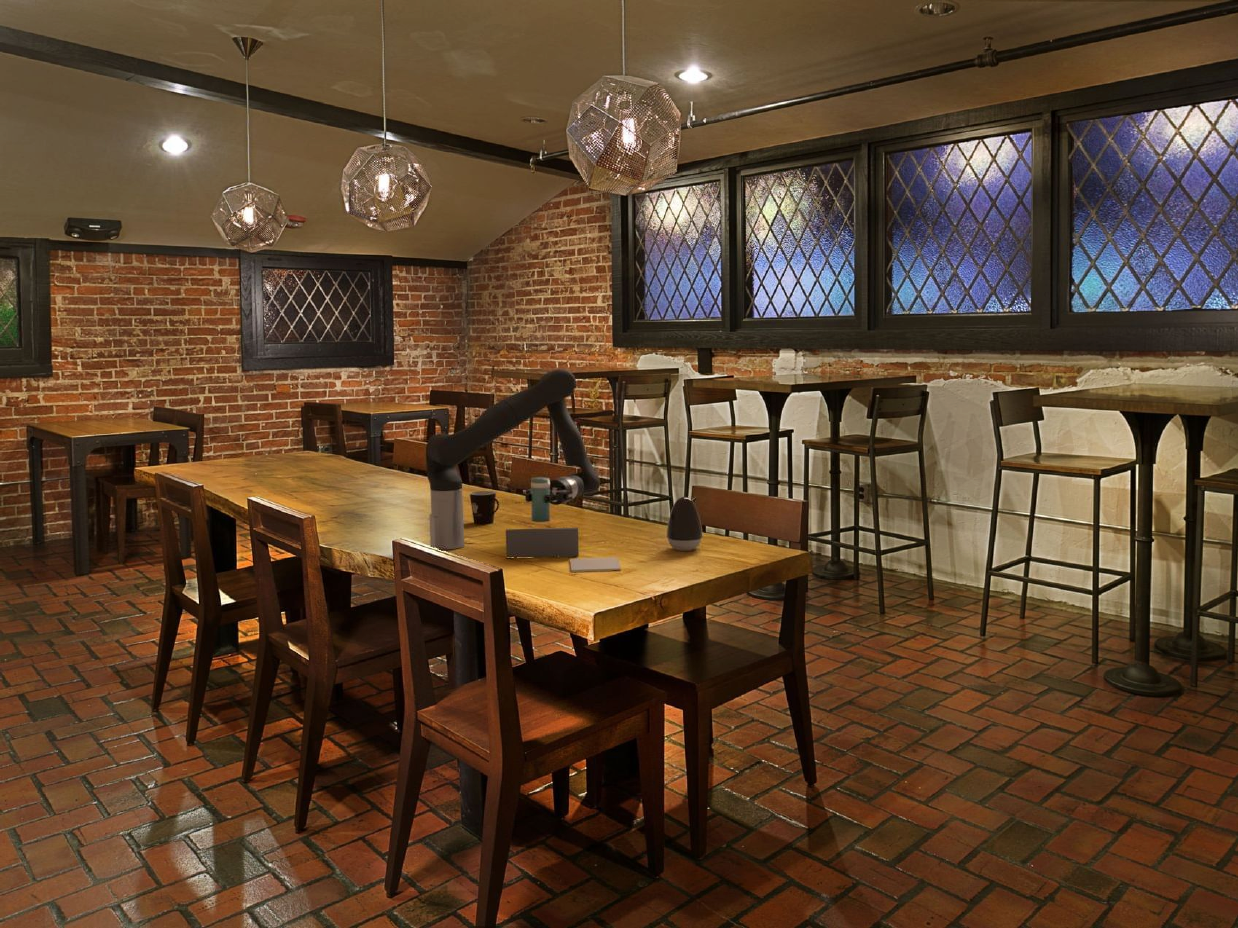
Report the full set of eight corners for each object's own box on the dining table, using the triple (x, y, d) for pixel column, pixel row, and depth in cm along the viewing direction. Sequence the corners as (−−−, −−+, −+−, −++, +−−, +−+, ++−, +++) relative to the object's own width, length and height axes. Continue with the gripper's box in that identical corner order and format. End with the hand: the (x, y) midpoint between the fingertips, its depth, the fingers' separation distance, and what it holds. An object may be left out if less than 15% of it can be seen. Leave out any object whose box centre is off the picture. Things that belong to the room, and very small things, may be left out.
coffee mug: (468, 521, 331) (467, 491, 330) (493, 519, 334) (492, 490, 333) (475, 527, 321) (474, 497, 319) (501, 525, 324) (500, 495, 322)
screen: (506, 558, 275) (505, 530, 274) (506, 557, 277) (505, 529, 276) (578, 556, 277) (578, 528, 276) (578, 555, 278) (577, 527, 277)
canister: (534, 522, 279) (534, 480, 277) (528, 519, 284) (528, 477, 282) (552, 521, 281) (552, 479, 280) (546, 518, 286) (546, 476, 284)
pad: (571, 572, 259) (571, 569, 259) (570, 560, 272) (570, 558, 272) (621, 570, 260) (621, 568, 260) (617, 559, 273) (617, 557, 273)
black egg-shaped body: (710, 548, 285) (709, 496, 283) (687, 554, 278) (687, 501, 276) (682, 543, 292) (681, 492, 290) (659, 549, 284) (659, 497, 282)
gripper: (539, 476, 297) (513, 484, 281) (583, 479, 292) (559, 487, 276) (539, 501, 298) (513, 510, 282) (583, 504, 293) (559, 513, 277)
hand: (536, 498), depth 279 cm, fingers closed on canister, 5 cm apart
